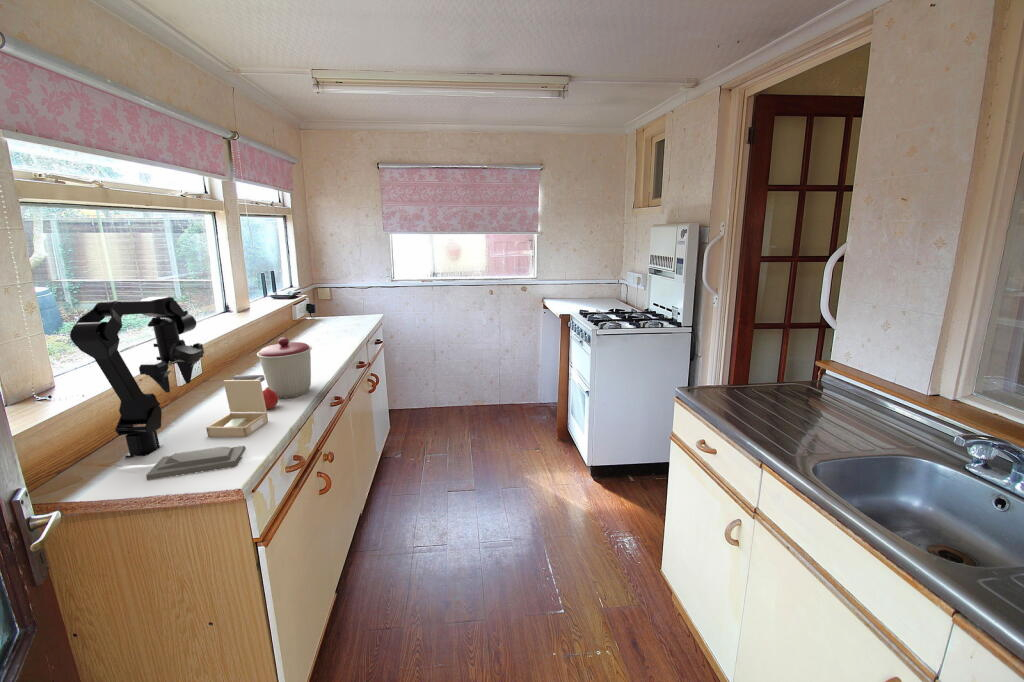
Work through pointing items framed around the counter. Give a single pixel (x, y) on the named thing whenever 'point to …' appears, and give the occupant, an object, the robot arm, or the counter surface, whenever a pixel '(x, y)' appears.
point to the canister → (287, 367)
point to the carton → (252, 424)
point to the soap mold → (196, 461)
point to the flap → (245, 393)
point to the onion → (270, 398)
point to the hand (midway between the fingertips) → (178, 387)
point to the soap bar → (237, 423)
